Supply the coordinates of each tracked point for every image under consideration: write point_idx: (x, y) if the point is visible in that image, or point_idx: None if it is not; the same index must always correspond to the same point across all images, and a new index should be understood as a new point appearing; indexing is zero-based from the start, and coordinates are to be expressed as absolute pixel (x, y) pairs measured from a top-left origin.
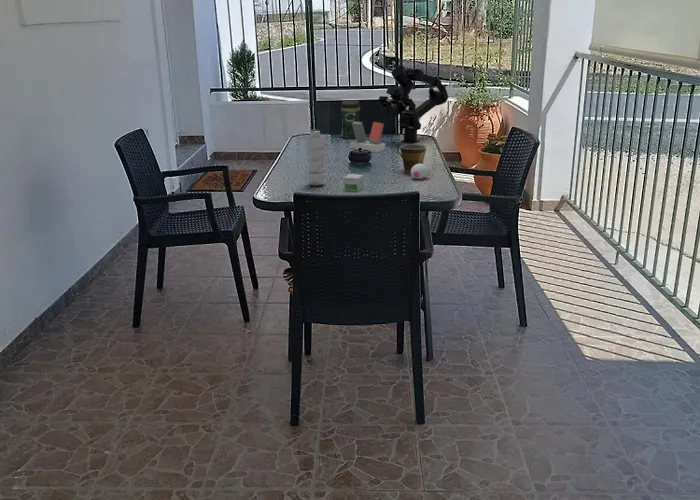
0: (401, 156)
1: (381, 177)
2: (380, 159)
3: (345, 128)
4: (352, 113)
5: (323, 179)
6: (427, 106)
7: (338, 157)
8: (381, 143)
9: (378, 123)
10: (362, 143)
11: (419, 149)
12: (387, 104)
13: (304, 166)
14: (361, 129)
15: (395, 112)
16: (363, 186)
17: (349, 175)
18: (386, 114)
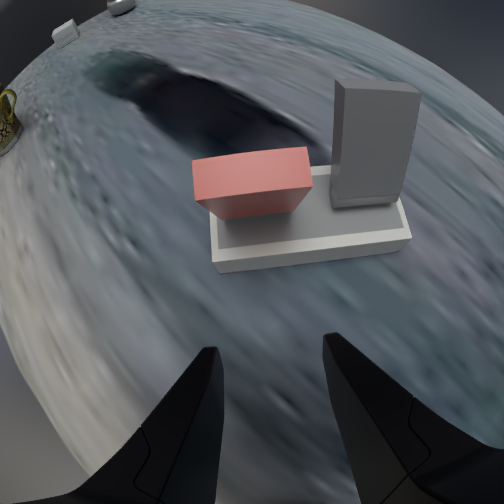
0: (13, 107)
1: (50, 79)
2: (118, 142)
3: None
4: None
5: (108, 9)
6: None
7: (258, 72)
8: (229, 245)
9: (230, 156)
10: (314, 173)
11: None
12: (484, 475)
13: (237, 13)
14: (334, 119)
15: (156, 425)
16: (58, 47)
17: (68, 23)
18: (333, 354)
